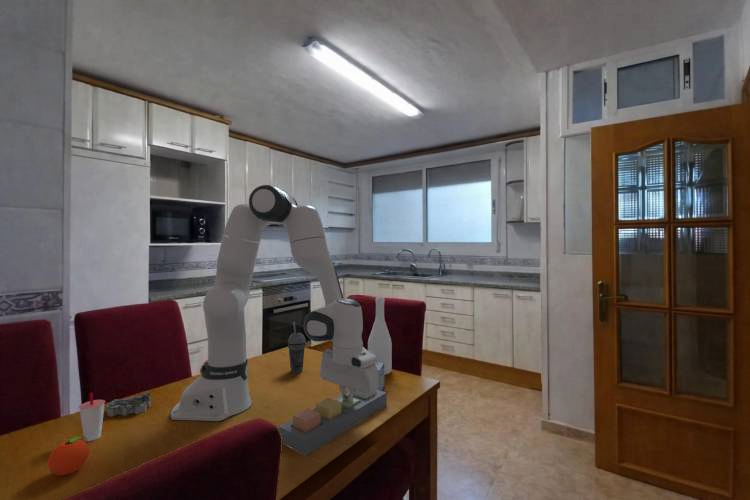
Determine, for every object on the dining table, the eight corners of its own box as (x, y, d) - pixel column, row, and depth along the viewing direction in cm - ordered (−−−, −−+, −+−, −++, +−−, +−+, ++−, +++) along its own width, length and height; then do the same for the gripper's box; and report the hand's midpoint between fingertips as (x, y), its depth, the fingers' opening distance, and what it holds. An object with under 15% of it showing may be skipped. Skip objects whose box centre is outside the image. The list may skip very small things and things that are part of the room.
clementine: (74, 458, 83) (73, 428, 83) (101, 460, 82) (101, 430, 82) (38, 481, 75) (38, 448, 75) (68, 483, 74) (68, 450, 74)
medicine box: (380, 396, 119) (380, 370, 118) (367, 394, 119) (367, 369, 119) (384, 386, 126) (384, 362, 126) (372, 385, 127) (372, 361, 127)
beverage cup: (303, 374, 138) (303, 323, 138) (285, 374, 138) (285, 323, 138) (307, 368, 145) (307, 319, 145) (290, 367, 145) (290, 319, 145)
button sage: (348, 418, 101) (348, 406, 101) (335, 413, 104) (335, 401, 104) (359, 411, 105) (359, 400, 105) (346, 407, 108) (346, 395, 108)
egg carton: (153, 404, 112) (153, 391, 112) (142, 415, 105) (142, 402, 105) (116, 406, 110) (116, 393, 110) (102, 418, 103) (102, 404, 103)
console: (305, 456, 85) (305, 439, 84) (278, 441, 91) (278, 426, 90) (386, 405, 112) (386, 392, 112) (362, 396, 118) (362, 384, 118)
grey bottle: (364, 369, 144) (364, 296, 144) (385, 366, 147) (386, 295, 147) (372, 377, 135) (373, 299, 135) (395, 374, 139) (395, 298, 138)
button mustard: (328, 422, 94) (328, 409, 94) (315, 416, 97) (315, 404, 97) (341, 415, 98) (341, 402, 98) (328, 409, 101) (328, 397, 101)
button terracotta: (306, 435, 88) (306, 421, 88) (292, 428, 91) (292, 415, 91) (320, 426, 92) (320, 413, 92) (307, 421, 95) (307, 408, 95)
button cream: (365, 401, 107) (365, 389, 107) (353, 396, 110) (353, 385, 110) (375, 395, 111) (375, 384, 111) (363, 391, 114) (363, 380, 114)
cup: (75, 445, 88) (75, 398, 88) (83, 435, 93) (83, 390, 93) (101, 440, 91) (101, 394, 90) (108, 430, 96) (107, 386, 95)
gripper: (315, 350, 108) (315, 395, 108) (368, 363, 96) (368, 414, 96) (329, 345, 113) (329, 388, 113) (381, 357, 101) (381, 406, 101)
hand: (347, 400), depth 104 cm, fingers closed, pressing on button sage
